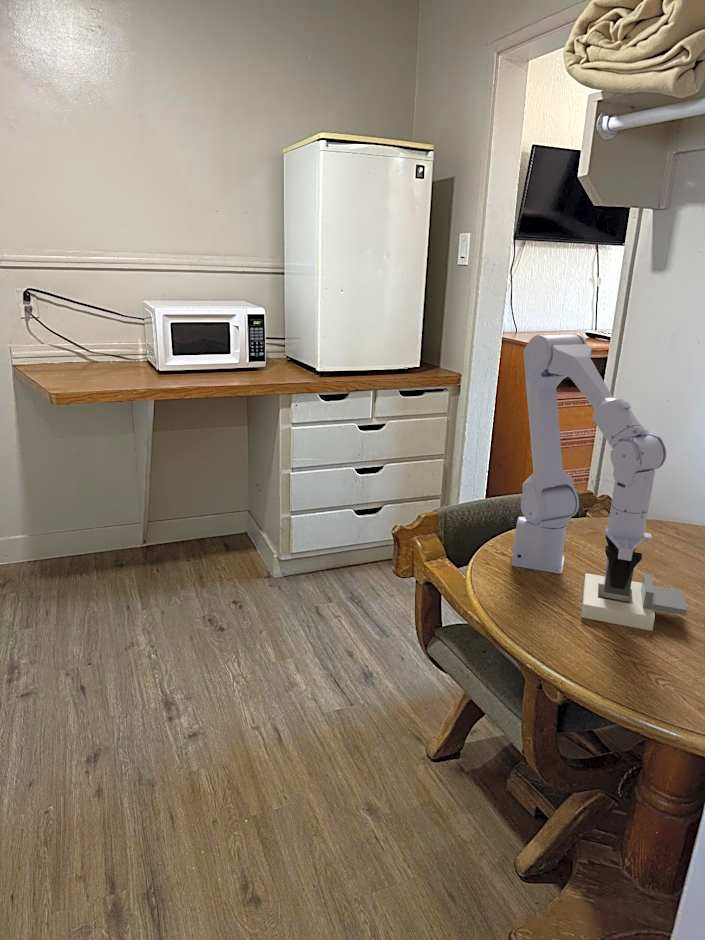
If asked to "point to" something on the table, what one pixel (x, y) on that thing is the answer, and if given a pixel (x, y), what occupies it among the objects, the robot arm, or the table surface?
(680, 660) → the table surface
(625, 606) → the socket plate
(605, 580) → the plug
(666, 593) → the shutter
